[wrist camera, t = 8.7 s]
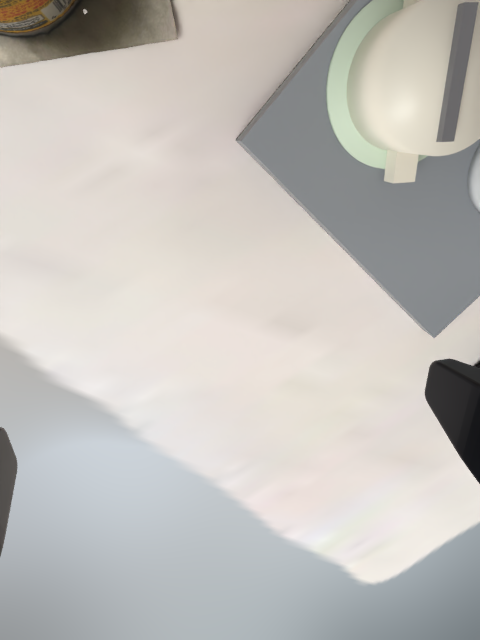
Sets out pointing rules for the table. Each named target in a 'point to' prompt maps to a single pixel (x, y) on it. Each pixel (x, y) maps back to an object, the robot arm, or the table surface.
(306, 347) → the table surface
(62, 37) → the condiment
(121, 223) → the table surface
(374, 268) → the post board
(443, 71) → the cream rounded dome
